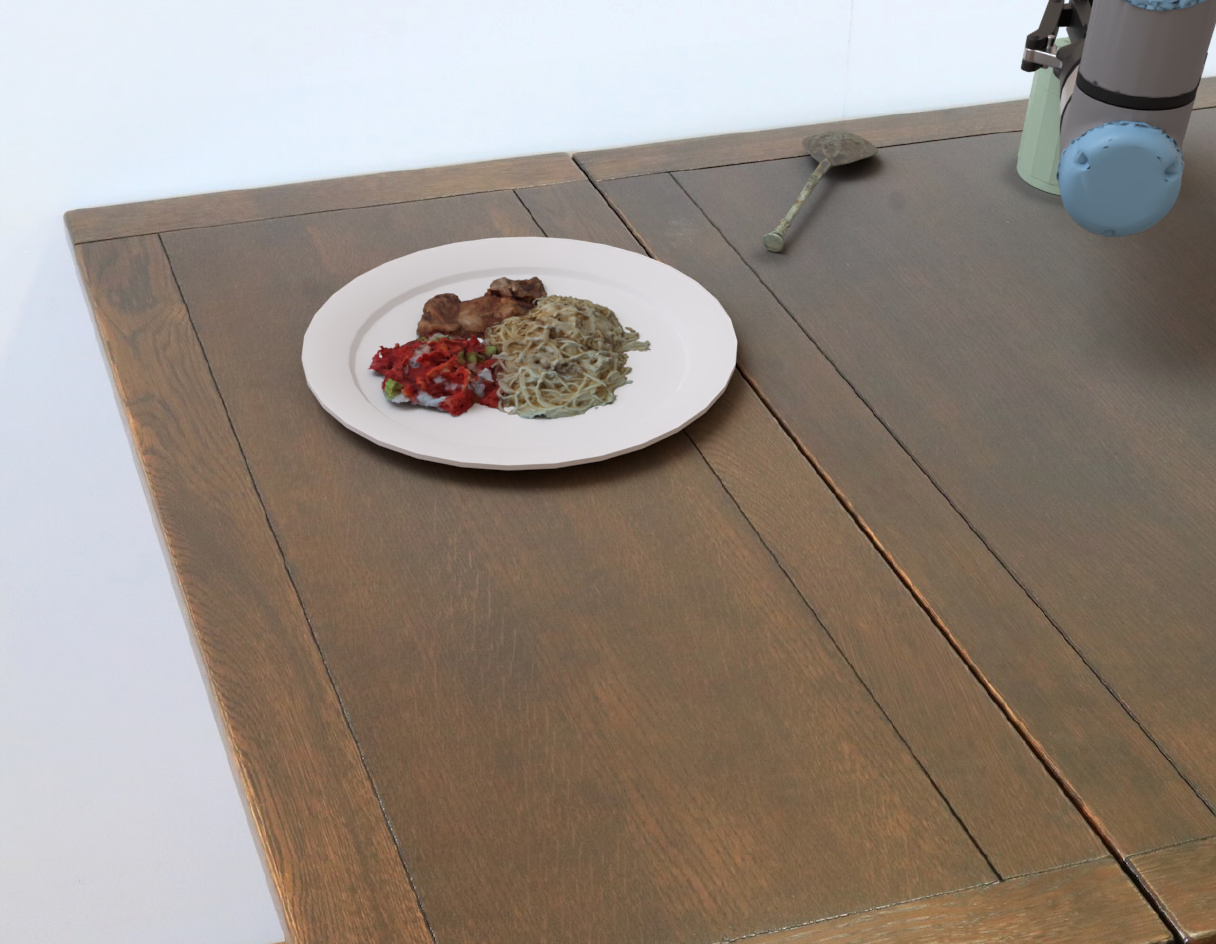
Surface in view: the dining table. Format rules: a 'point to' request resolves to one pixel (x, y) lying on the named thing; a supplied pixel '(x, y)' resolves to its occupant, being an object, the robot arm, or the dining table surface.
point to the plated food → (519, 353)
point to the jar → (1042, 131)
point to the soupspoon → (821, 171)
